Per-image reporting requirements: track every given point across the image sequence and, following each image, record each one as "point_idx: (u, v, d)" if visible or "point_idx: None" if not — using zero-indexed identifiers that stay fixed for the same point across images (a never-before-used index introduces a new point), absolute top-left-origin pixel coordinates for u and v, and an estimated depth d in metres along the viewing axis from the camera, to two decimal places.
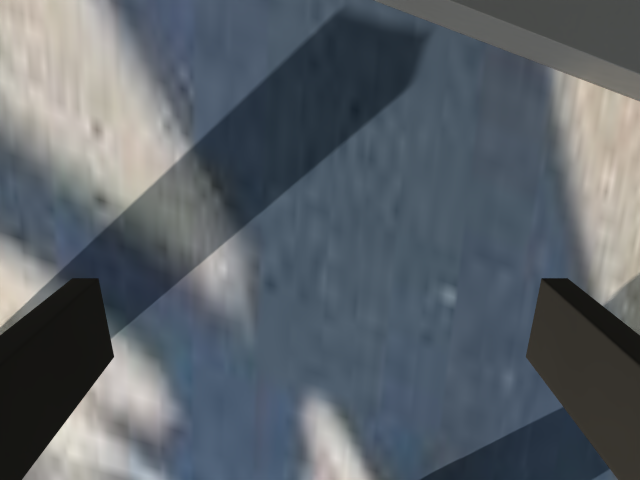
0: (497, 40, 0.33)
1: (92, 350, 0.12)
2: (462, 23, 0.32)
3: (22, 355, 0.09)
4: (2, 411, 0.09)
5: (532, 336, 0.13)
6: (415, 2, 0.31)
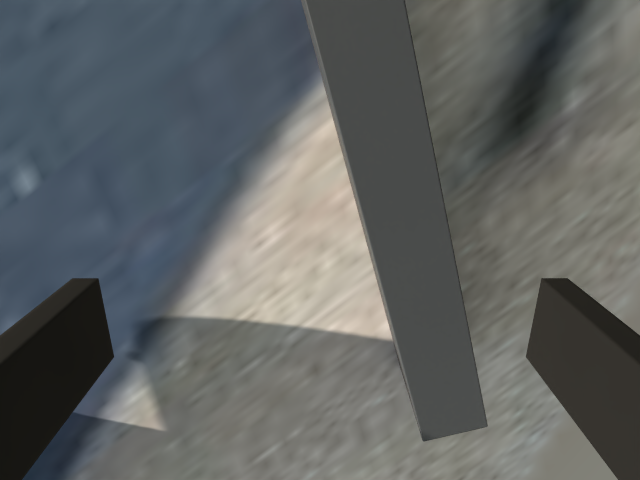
0: None
1: (92, 350, 0.12)
2: None
3: (22, 355, 0.09)
4: (2, 411, 0.09)
5: (533, 336, 0.13)
6: None
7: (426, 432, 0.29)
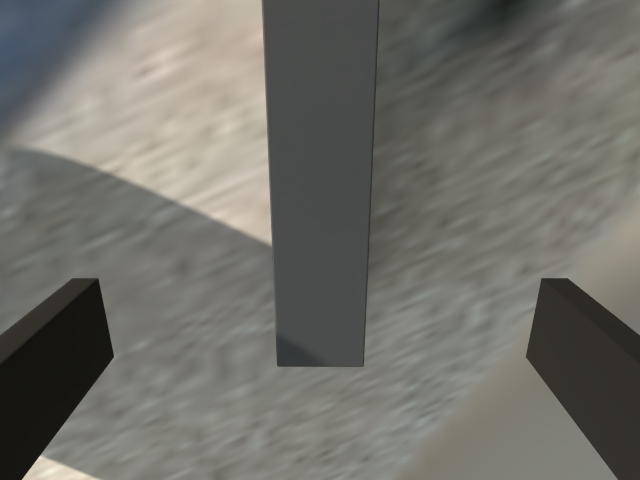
0: None
1: (92, 350, 0.12)
2: None
3: (22, 355, 0.09)
4: (2, 411, 0.09)
5: (532, 336, 0.13)
6: None
7: (284, 354, 0.22)
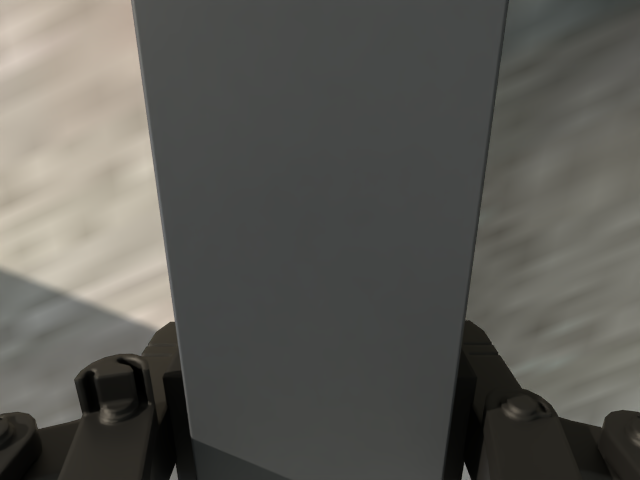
0: None
1: None
2: None
3: None
4: None
5: None
6: None
7: None
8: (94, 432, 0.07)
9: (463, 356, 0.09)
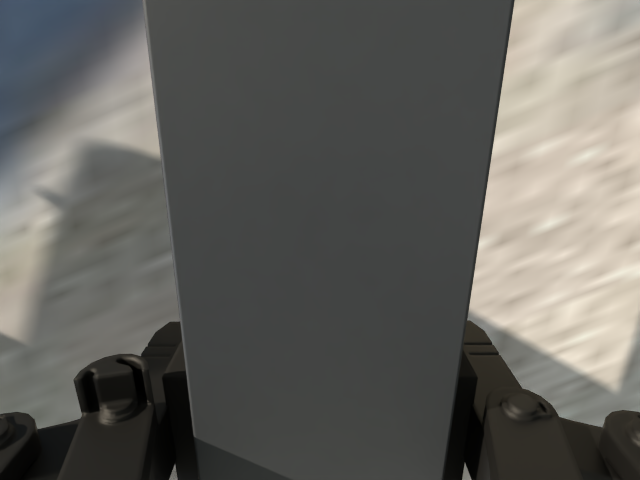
0: None
1: None
2: None
3: None
4: None
5: None
6: None
7: None
8: (93, 432, 0.07)
9: (463, 356, 0.09)
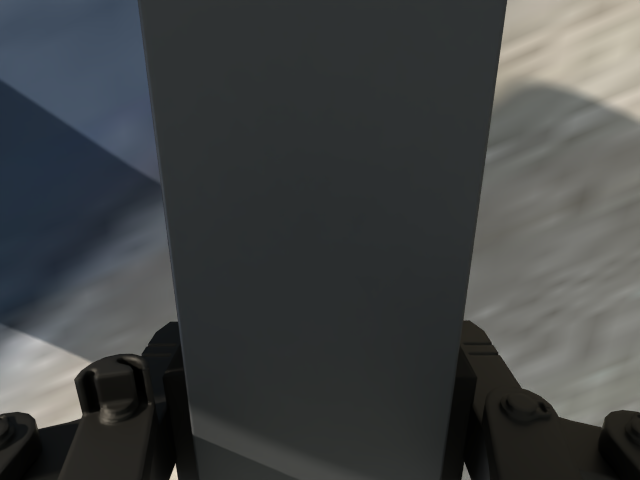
0: None
1: None
2: None
3: None
4: None
5: None
6: None
7: None
8: (94, 432, 0.07)
9: (463, 356, 0.09)
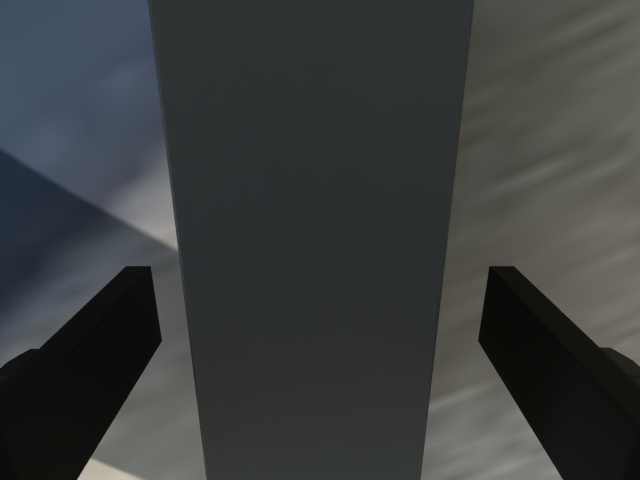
0: None
1: (146, 333, 0.13)
2: None
3: (97, 333, 0.10)
4: (83, 383, 0.09)
5: (483, 321, 0.14)
6: None
7: None
8: None
9: None
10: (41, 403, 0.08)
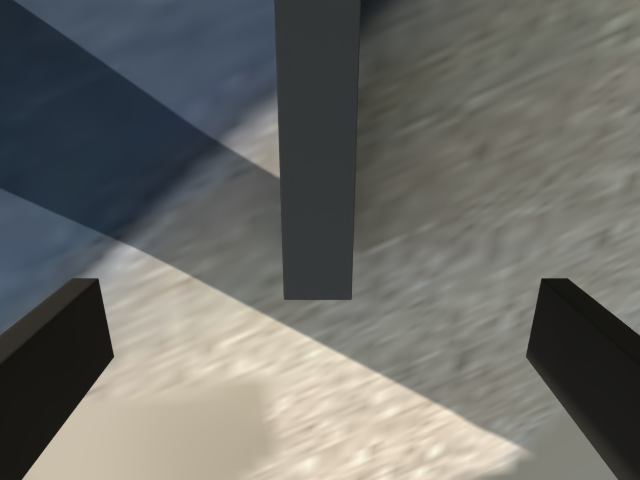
0: None
1: (92, 350, 0.12)
2: None
3: (22, 355, 0.09)
4: (2, 411, 0.09)
5: (532, 336, 0.13)
6: None
7: (289, 289, 0.28)
8: None
9: None
10: None
